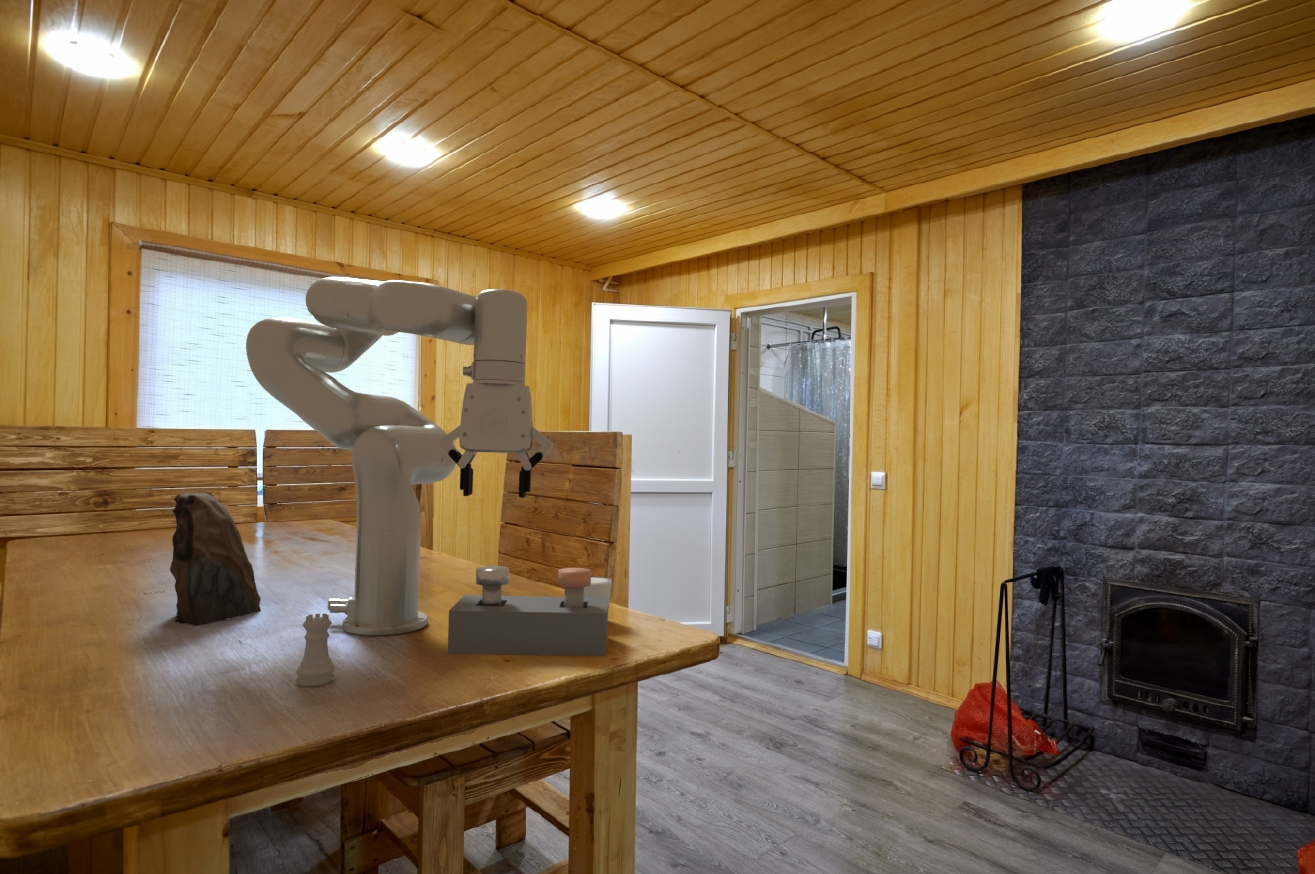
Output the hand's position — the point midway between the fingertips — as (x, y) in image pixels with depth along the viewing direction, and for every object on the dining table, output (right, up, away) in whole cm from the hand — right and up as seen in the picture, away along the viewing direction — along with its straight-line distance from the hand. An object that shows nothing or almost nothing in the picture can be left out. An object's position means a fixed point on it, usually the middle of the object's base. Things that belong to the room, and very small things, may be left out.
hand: (495, 495), depth 105 cm
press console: (+5, -22, 0) cm, 23 cm away
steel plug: (-1, -18, 0) cm, 18 cm away
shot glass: (+13, -23, +15) cm, 30 cm away
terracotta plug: (+11, -19, 0) cm, 22 cm away
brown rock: (-48, -21, +12) cm, 54 cm away
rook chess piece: (-18, -21, -18) cm, 33 cm away
